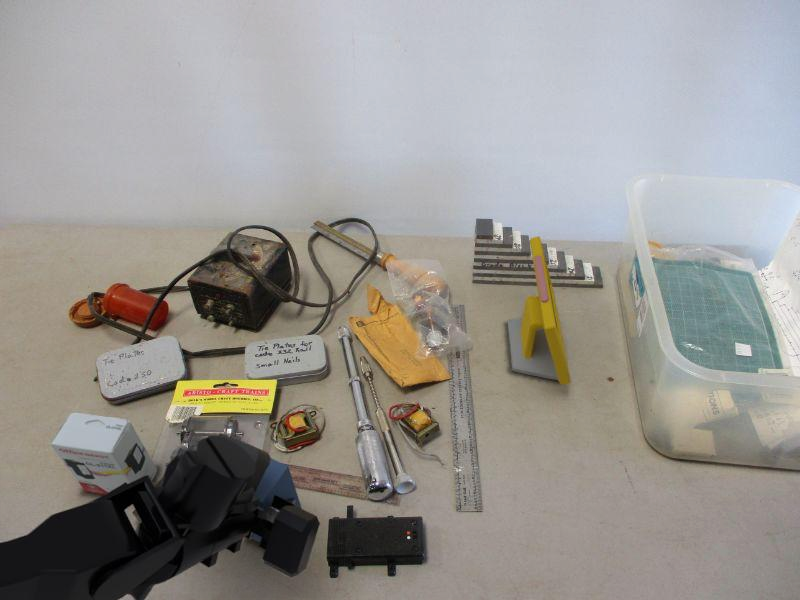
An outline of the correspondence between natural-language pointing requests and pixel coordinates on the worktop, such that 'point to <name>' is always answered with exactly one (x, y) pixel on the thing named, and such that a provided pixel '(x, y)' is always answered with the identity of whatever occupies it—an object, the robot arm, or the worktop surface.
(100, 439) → the ink box
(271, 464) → the blue faceted prism
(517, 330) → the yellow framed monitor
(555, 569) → the worktop surface
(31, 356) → the worktop surface
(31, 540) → the robot arm
